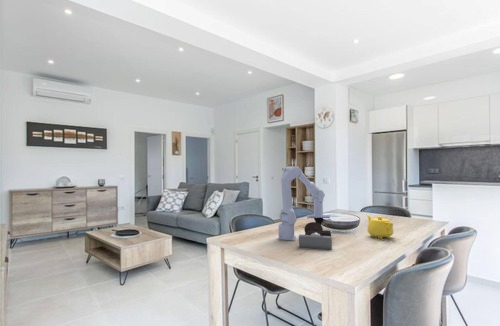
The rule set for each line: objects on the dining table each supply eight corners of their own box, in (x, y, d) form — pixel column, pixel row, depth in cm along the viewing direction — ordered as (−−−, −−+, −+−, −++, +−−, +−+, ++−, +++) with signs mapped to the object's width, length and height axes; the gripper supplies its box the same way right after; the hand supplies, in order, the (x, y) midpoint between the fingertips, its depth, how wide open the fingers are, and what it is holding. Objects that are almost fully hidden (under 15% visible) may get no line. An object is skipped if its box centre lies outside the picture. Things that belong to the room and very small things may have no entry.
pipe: (331, 231, 153) (328, 221, 168) (303, 231, 156) (303, 222, 171) (332, 247, 154) (329, 236, 169) (305, 248, 157) (305, 237, 172)
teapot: (375, 232, 180) (375, 213, 180) (401, 239, 161) (401, 218, 161) (359, 234, 175) (358, 214, 176) (383, 241, 157) (383, 220, 157)
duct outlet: (298, 247, 148) (298, 234, 148) (300, 244, 153) (299, 232, 153) (331, 249, 143) (331, 235, 143) (331, 246, 148) (331, 233, 148)
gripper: (307, 209, 175) (308, 230, 174) (331, 209, 174) (331, 230, 173) (306, 207, 182) (306, 228, 181) (328, 207, 181) (329, 228, 180)
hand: (318, 229), depth 178 cm, fingers closed
